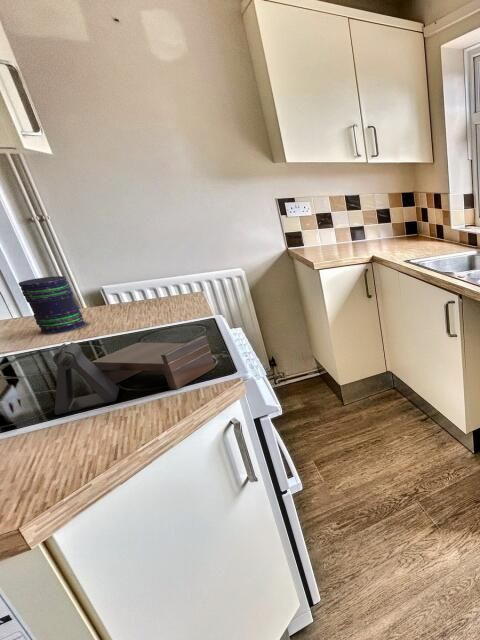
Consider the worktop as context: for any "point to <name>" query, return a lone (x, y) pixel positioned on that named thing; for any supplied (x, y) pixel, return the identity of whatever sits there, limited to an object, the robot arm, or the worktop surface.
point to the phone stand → (88, 372)
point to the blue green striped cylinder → (52, 304)
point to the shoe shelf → (160, 361)
